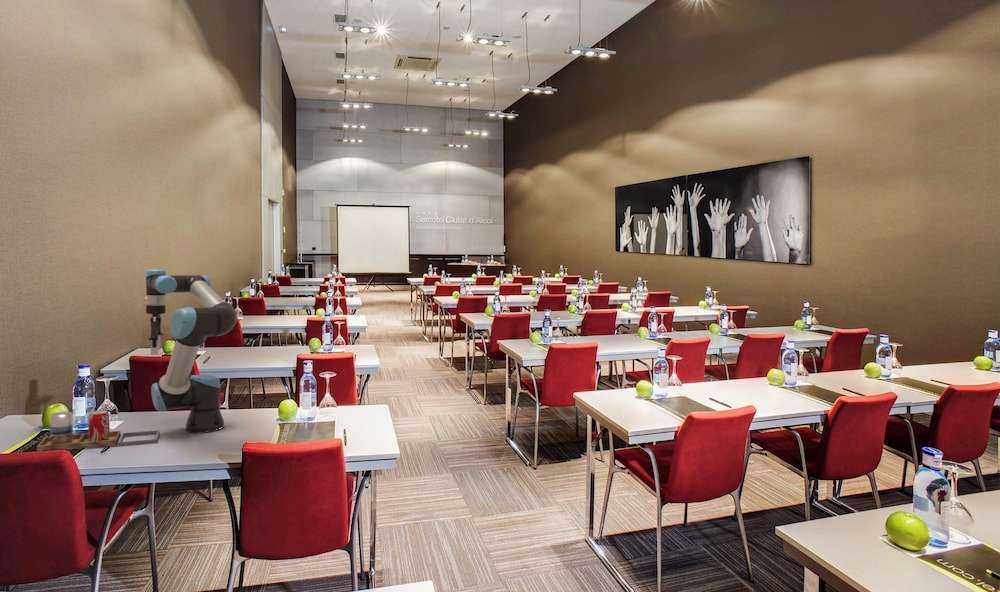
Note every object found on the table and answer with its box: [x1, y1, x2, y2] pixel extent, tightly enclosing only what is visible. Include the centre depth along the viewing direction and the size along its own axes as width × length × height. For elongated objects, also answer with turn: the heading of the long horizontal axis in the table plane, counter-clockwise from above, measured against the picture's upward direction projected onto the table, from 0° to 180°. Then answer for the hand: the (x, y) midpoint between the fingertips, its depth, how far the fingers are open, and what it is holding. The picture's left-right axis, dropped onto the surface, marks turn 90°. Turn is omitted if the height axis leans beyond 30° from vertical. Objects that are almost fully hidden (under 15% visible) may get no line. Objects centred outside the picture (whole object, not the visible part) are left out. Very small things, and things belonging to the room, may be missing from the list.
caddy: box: [36, 430, 122, 452], centre depth 242 cm, size 25×13×2 cm, turn 115°
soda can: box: [87, 409, 111, 442], centre depth 244 cm, size 7×7×12 cm
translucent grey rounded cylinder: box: [49, 411, 74, 445], centre depth 239 cm, size 7×7×12 cm
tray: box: [116, 429, 161, 447], centre depth 250 cm, size 14×14×2 cm
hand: (155, 352), depth 273 cm, fingers open, 13 cm apart
